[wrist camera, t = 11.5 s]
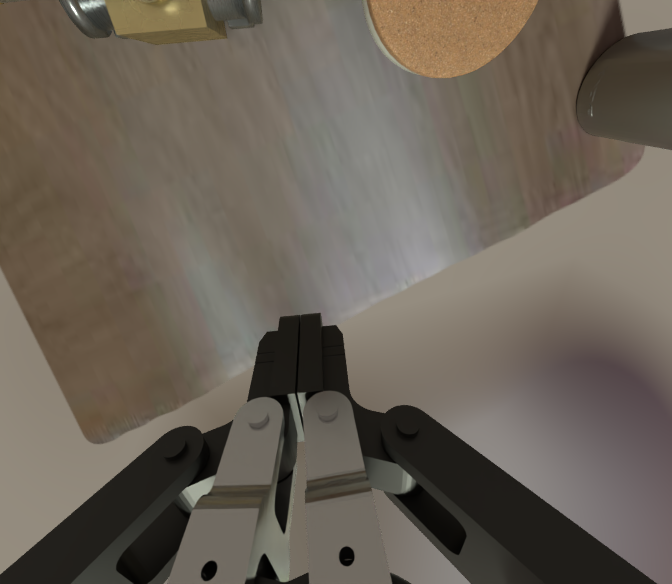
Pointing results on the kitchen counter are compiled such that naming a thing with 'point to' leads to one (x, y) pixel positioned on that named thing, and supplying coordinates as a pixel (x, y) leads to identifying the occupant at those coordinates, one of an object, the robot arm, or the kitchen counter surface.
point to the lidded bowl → (444, 32)
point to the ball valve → (162, 18)
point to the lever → (5, 0)
